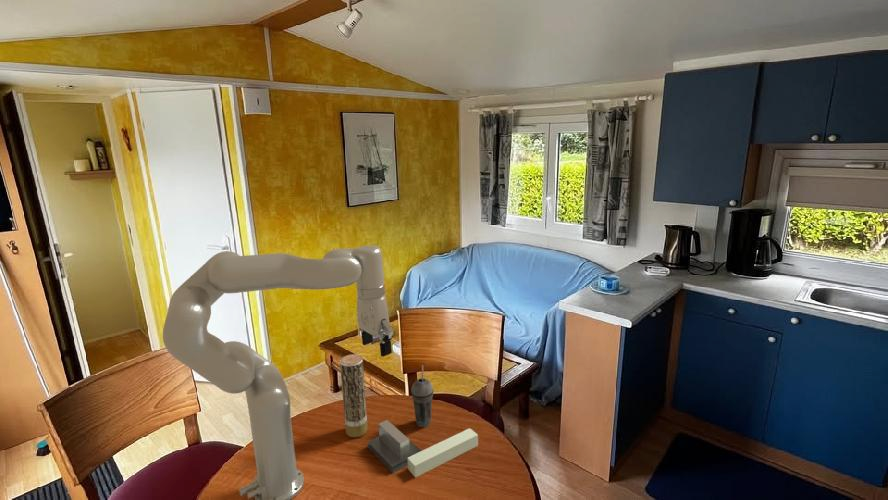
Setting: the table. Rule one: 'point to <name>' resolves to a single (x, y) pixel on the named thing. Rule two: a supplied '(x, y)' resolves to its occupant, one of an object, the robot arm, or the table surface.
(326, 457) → the table surface
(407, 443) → the ridge stand
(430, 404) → the beverage cup
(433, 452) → the batten
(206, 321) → the robot arm
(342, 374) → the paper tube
